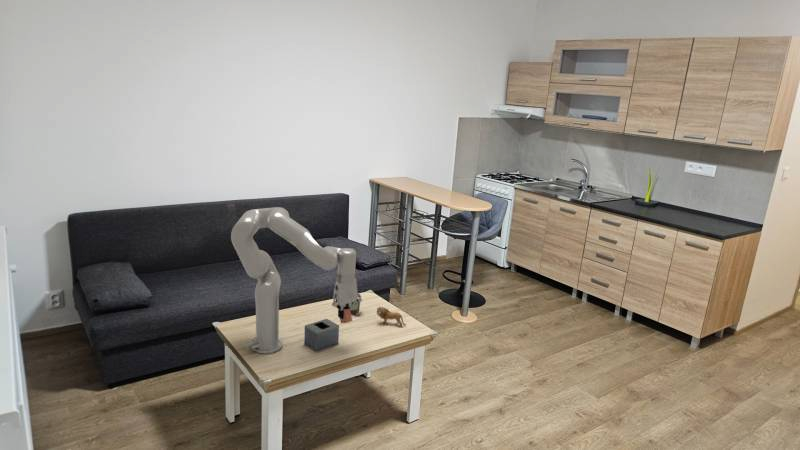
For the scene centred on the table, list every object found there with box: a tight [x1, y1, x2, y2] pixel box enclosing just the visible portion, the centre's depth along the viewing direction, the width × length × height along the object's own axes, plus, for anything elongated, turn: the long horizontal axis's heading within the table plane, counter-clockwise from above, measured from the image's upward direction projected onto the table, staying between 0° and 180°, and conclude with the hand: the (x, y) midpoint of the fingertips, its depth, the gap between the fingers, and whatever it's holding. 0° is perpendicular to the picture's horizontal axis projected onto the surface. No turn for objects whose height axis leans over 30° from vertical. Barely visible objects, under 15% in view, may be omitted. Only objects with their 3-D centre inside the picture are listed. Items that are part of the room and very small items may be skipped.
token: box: [339, 309, 353, 324], centre depth 228 cm, size 3×4×6 cm, turn 45°
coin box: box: [303, 318, 340, 353], centre depth 233 cm, size 12×9×9 cm
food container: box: [343, 292, 363, 318], centre depth 268 cm, size 12×6×10 cm, turn 58°
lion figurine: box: [376, 306, 407, 328], centre depth 257 cm, size 15×5×9 cm, turn 87°
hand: (343, 316), depth 229 cm, fingers closed on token, 2 cm apart
